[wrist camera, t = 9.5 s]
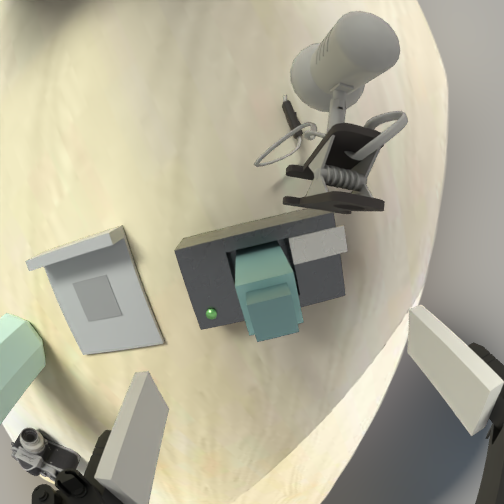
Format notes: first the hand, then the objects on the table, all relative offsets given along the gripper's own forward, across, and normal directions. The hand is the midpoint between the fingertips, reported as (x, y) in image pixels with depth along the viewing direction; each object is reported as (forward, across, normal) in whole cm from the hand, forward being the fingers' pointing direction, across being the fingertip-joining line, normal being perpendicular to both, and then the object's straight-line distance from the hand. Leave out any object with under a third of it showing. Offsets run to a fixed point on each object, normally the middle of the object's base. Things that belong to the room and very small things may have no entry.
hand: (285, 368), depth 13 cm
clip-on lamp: (+18, +6, +11) cm, 22 cm away
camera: (+18, -49, -27) cm, 59 cm away
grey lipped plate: (+18, -19, 0) cm, 26 cm away
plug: (+17, 0, 0) cm, 17 cm away
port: (+18, 0, 0) cm, 18 cm away
